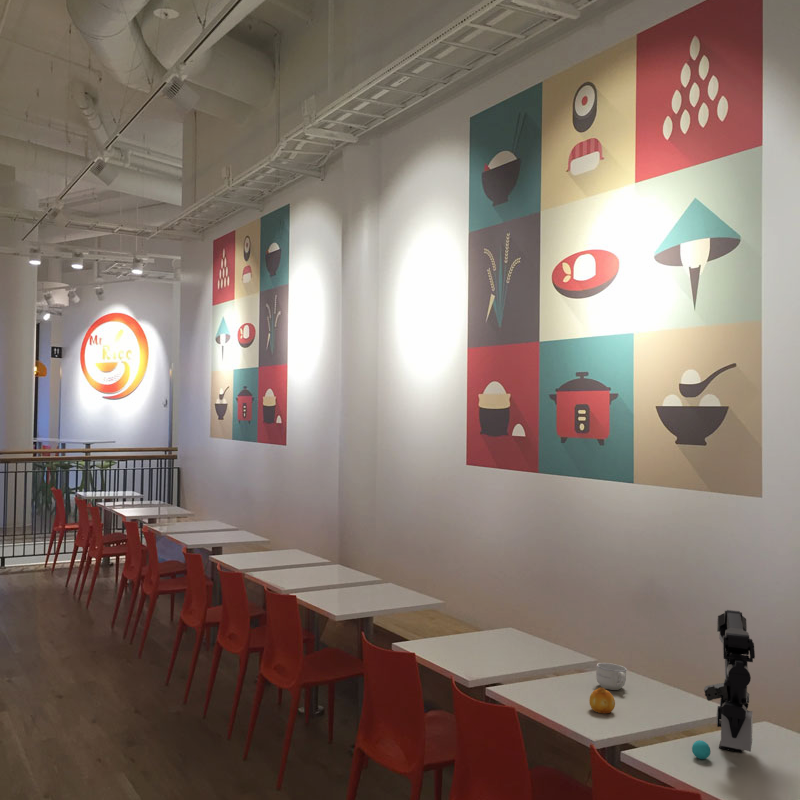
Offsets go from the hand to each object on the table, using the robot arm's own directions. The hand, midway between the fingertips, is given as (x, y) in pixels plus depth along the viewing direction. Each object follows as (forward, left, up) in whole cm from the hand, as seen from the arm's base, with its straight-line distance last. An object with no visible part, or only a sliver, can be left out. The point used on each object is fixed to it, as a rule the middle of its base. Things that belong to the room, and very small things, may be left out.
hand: (735, 733), depth 225 cm
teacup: (-51, -45, -9) cm, 69 cm away
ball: (0, -9, -7) cm, 11 cm away
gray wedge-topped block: (0, 0, -3) cm, 3 cm away
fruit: (-24, -43, -9) cm, 50 cm away
